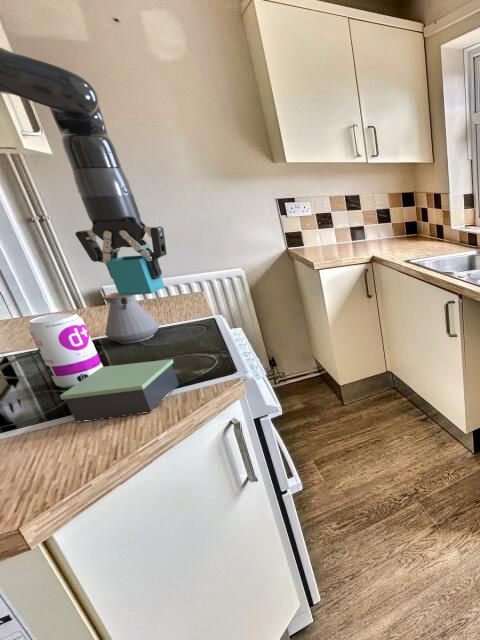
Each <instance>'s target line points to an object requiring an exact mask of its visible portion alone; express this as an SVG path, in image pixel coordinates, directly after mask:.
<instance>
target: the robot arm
mask: <svg viewBox="0 0 480 640" xmlns="http://www.w3.org/2000/svg"><path fill="white" fill-rule="evenodd" d="M0 94H5V95H13V96H16V97H19V98H22V99H25V100H28V101H30V102H33V103H36V104H39V105H41V106H45V107H47V108H49V111H50V113H51V116H52V117H53V120H54V123H55V125H56V126H57V128H58V132H59V134H60V136H61V143H62V148H63V151H64V152H65V155H66V158H67V161H68V163H69V165H70V168H71V171H72V175H73V180H74V183H75V186H76V189H77V193H78V194H79V196H80V199H81V201H82V204H83V206H84V209H85V211H86V214H87V217H88V219H89V220H90V221H91V223H92V225H91V229H83V230H78V231H76V232H75V237H76V238H77V239H78V241H79V243H80V244H81V246H82V247H83V250H84V251H85V252H86V254H87V256H88V257H89V259H90V260H91V261H92V262H94V263H96V262H99V263H103V264H105V266H106V268H107V270H108V273H109V275H110V278H111V279H112V280H113V278H112V276H111V273H110V270H109V268H108V265H107V263H106V262H107V261H110V260H113V259H116V258H119V252H120V250H121V248H132V249H133V250H134V251H135V252H136V253H139V255H140V256H141V255H142V257H143V258H144V259H145V260H146V261H147V262H146V265H147V268H148V271H149V273H150V276H151V279H158V278H160V275H161V276H162V275H163V272H162V269H161V266H160V263H159V259H160V258H162V257H164V256H167V254H168V253H167V246H166V238H165V237H166V236H165V230H164V227H162V226H160V225H158V226H147V225H146V224H145V223H144V222H143V221H142V219H141V214H140V211H139V208H138V206H137V202H136V199H135V196H134V193H133V191H132V189H131V185H130V182H129V180H128V178H127V176H126V174H125V172H124V170H123V167H122V164H121V162H120V158H119V156H118V153H117V150H116V148H115V145H114V143H113V141H112V140H111V138H110V137H109V134H108V130H107V128H106V124H105V120H104V116H103V113H102V111H101V107H100V103H99V98H98V97H99V96H98V94H97V92H96V90H95V89H94V87H93V86H92V84H91V83H90V82H89V81H87V80H86V79H85V78H84V77H82V76H81V75H79V74H77V73H75V72H73V71H70V70H68V69H65V68H64V67H60V66H57V65H55V64H52V63H49V62H46V61H42V60H40V59H37V58H36V59H35V58H32V57H29V56H26V55H24V54H23V55H22V54H19V53H15V52H13V51H10V50H7V49H5V48H3V47H1V46H0ZM146 234H147V235H148V237H150V238H151V243H152V244H151V245H152V247H151V245H150V243H148V241H147V240H146V239H145V238H144V237H145V235H146ZM97 238H99V239H101V241H103V242H102V248H101V246H100V245H99V243H98V242H97Z"/></svg>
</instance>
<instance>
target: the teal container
mask: <svg viewBox="0 0 480 640" xmlns="http://www.w3.org/2000/svg"><path fill="white" fill-rule="evenodd" d="M146 262H147V261H146V260H145V259H144V258H143V257H142V255H141V254H140V255H125V256H120V257H117V258H116V259H113V260H110V261H107V262H106V263H107V265H108V268H109V270H110V273H111V276H112V278H113V279H112V278H111V279H112V281H113V283H114V285H115V288H116V291H117V293H119V296H128V295H134V296H141V295H152V294H154V293H156V292H158V291H160V290H161V289H163V288H165V284H164V283H165V282H164V280H163V278H162V275H160V278H158V279H151V276H150V273H149V271H148V268H147V265H146ZM108 268H107V269H108ZM110 273H109V274H110ZM111 276H110V277H111Z"/></svg>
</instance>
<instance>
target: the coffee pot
mask: <svg viewBox="0 0 480 640" xmlns="http://www.w3.org/2000/svg"><path fill="white" fill-rule="evenodd" d="M101 299H103V300H104V301H106V302H107V303H108V304H109V308H108V314H107V321H106V326H105V327H106V328H105V332H104V334H105V336H106V337H107V338H108V339H110V340H111V341H114V342H118V344H122V345H123V344H134V343H139V342H143V341H146V340H149V339H151V338H153V337H154V336H155V334H156V333H157V332H158V330H159V326H160V324H159V322H158V321H156V320H155V318H154V317H153V316H152V315H150V314H149V313H148V311H146V310H145V309H144V307H143V306H141V305H140V304H139V303H138V302H137V301H136V300H135V295H128V296H119V293H118V292H114V293H110V294H106V295H104V296H103V297H101Z"/></svg>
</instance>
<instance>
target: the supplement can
mask: <svg viewBox="0 0 480 640" xmlns="http://www.w3.org/2000/svg"><path fill="white" fill-rule="evenodd" d="M28 331H29V333H30V337H32V340H33V342H34V344H35V346H36V347H37V350H38V352H39V354H40V356H41V358H42V360H43V362H44V364H45V367H46V368H47V370H48V373H49V375H50V376H51V378H52V381H53V382H54V385H55V386H58V387H60V388H63V389H70V388H72V387H73V386H75V385H76V384H78V383H79V382H81V381H82V380H84V379H85V378H87V377H88V376H90V375H91V374H93V373H94V372H95V371H97V370H98V369H100V368H101V367H104V365H103V363H102V361H101V358H100V356H99V354H98V351H97V349H96V347H95V344H94V342H93V340H92V338H91V336H90V332H89V331H88V328H87V325H86V324H85V322H84V320H83V318H82V317H81V316H79V315H78V314H77V313H76V312H73V311H68V312H67V311H65V312H57V313H51V314H46V315H41V316H38V317H35V318H32V319H31V320H29V325H28Z"/></svg>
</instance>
